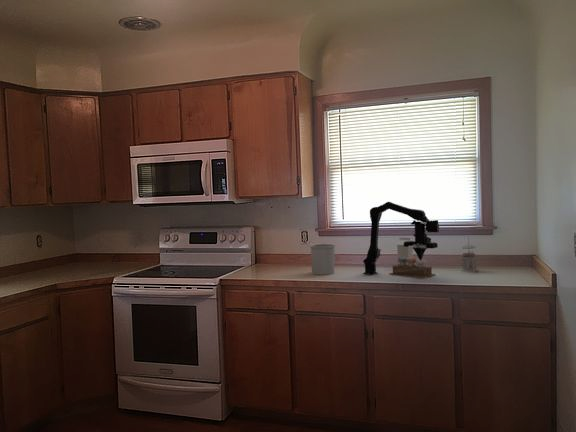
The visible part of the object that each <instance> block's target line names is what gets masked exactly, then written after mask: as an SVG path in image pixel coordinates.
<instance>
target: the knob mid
mask: <svg viewBox="0 0 576 432" xmlns="http://www.w3.org/2000/svg"><path fill="white" fill-rule="evenodd" d="M416 259H417V258H415V257H413V258H407V262H408V267H415V265H416Z"/></svg>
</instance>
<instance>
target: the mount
mask: <svg viewBox="0 0 576 432" xmlns="http://www.w3.org/2000/svg"><path fill="white" fill-rule="evenodd" d="M390 274H391V275H392V276H400V277H407V278H408V277H409V278H410V277H411V278H416V279H427V278H431V277H434V276H436V273H433V271H432V266H429V265H428V266H426V265H424V268H418V267H417V265H416V264H415V267H408V264H406V266H399V265H398V264H396V265H392V272H390V273H389V274H388V275H390Z"/></svg>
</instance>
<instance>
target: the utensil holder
mask: <svg viewBox="0 0 576 432" xmlns="http://www.w3.org/2000/svg"><path fill="white" fill-rule="evenodd" d="M310 254H311V255H310V256H311V262H310V263H311V273H312V275H314V276H315V275H317V276H320V275H321V276H328V275H332V274H335V243H325V242H323V243H313V244H312V243H311V245H310Z"/></svg>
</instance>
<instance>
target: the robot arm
mask: <svg viewBox="0 0 576 432" xmlns="http://www.w3.org/2000/svg"><path fill="white" fill-rule="evenodd" d="M388 210H390V211H391V210H392V211H394V212H397V213H400V214H403V215H406V216H408V217H410V218H411V219H413V221H412V222H411V223H410V225H413V226H414V234H413V237H414V240H411V241H406V242H404V247H409V246H413V248H412V249H413V251H414V252H415V254H416V256H417V257H418V258H417V259H419V260H422V259H423V257H424V254H425V252H426V251H427V249H436V248H438V247H439V246H438V243H437V242H432V238H431V237H428V236H427V233H439V232H440V225H439V224H440V223H439V220H438V219H434V220H429V218H428V217H427V216H426V212H425V211H424V210H423V209H414V208H410V207H406V206H403V205H401V204H397V203H393V202H392V201H386V202H385V203H383V204H381V205H378V206H374V207H372V208H370V209H369V218H370V223H371V226H370V241H369V242H370V243H369V247H368V250H367V254H366V258H364V260H363V264H364V272H362V274H365V275H376V274H379V272H378V271H377V264H376V263H377V262H378V261H377V260H379V258H380V256H381V248H379V246H378V243H379V229H380V227H379V226H380V221H381V219H382V215H383V213H384V212H386V211H388ZM426 231H427V233H426Z"/></svg>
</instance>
